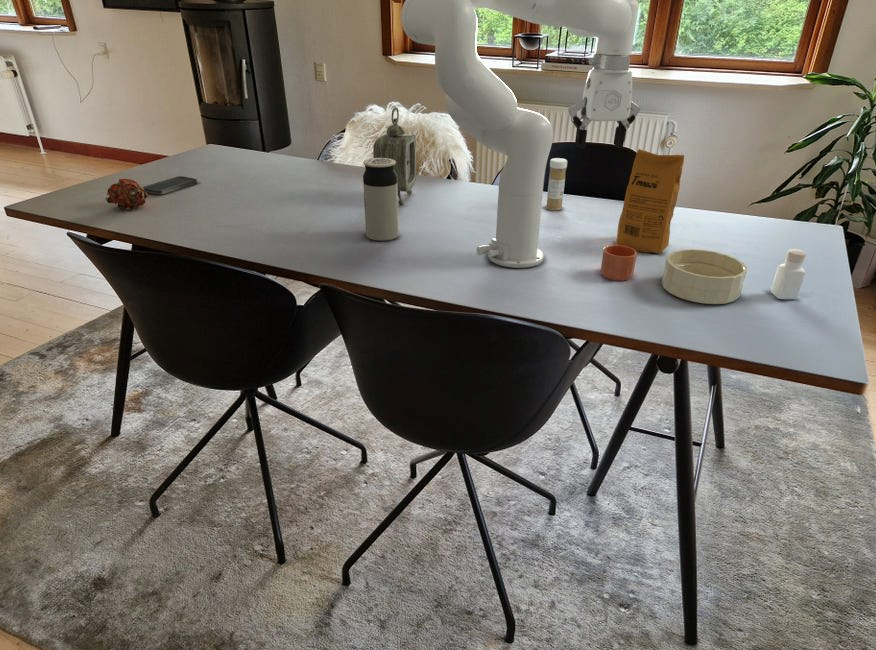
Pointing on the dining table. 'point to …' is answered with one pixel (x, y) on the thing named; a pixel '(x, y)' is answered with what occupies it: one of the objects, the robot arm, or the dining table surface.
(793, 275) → the pepper shaker
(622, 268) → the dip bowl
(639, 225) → the coffee package
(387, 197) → the travel mug
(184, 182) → the phone
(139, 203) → the brown knobby oval lump
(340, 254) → the dining table surface
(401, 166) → the weathered lantern
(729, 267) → the serving bowl
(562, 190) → the sprinkles bottle
